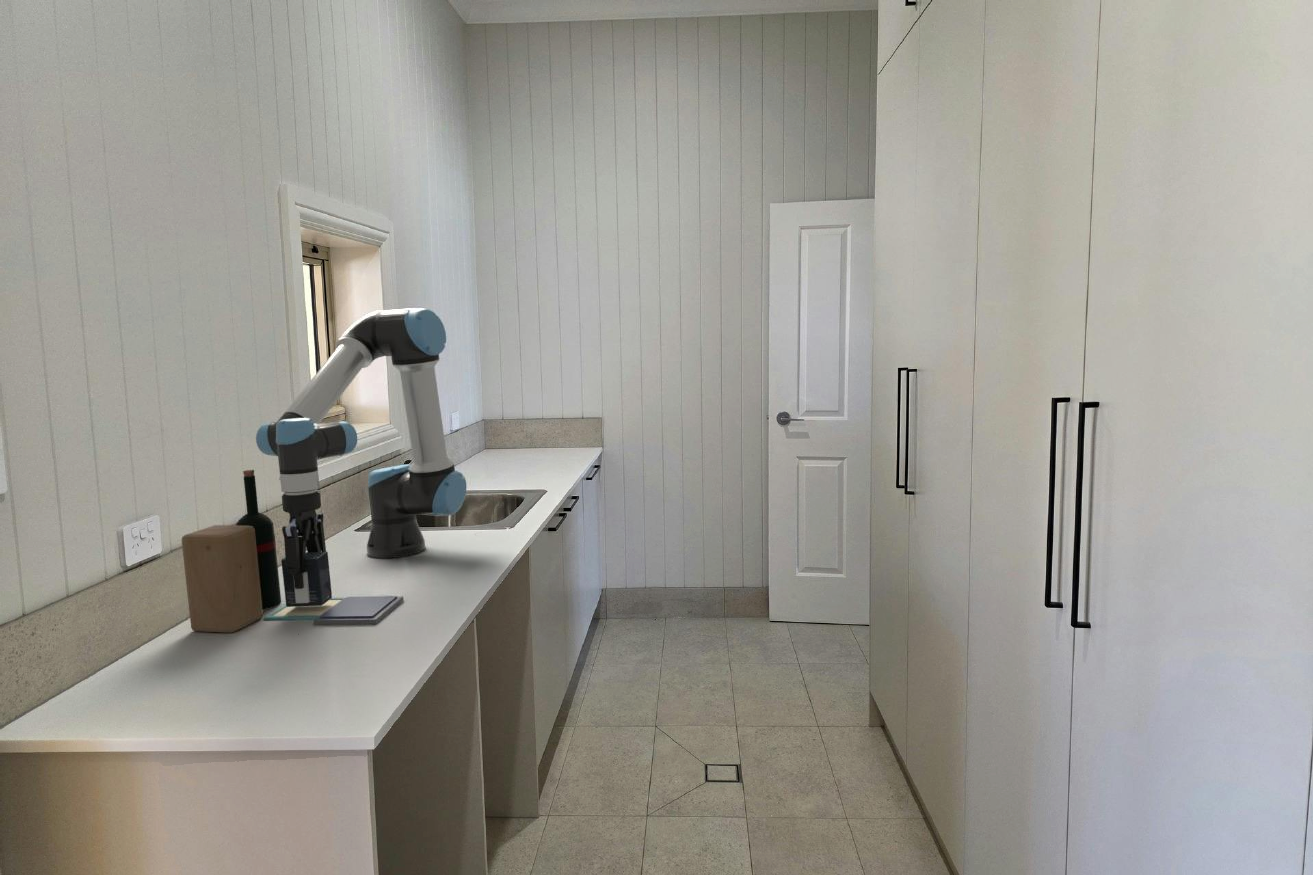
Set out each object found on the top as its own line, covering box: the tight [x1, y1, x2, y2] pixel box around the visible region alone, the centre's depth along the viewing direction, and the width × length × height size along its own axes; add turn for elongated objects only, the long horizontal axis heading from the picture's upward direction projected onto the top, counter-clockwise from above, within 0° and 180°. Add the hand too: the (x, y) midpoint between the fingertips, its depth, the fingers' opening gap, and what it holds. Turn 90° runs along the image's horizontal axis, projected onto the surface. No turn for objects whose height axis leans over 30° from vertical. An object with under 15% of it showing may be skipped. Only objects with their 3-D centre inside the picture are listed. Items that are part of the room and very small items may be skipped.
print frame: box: [263, 596, 345, 621], centre depth 183 cm, size 13×14×1 cm
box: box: [281, 551, 333, 607], centre depth 183 cm, size 8×6×11 cm
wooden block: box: [181, 524, 264, 634], centre depth 174 cm, size 10×10×20 cm
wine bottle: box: [235, 469, 282, 611], centre depth 187 cm, size 8×10×30 cm
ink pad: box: [313, 595, 404, 626], centre depth 180 cm, size 15×13×1 cm
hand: (310, 597), depth 183 cm, fingers closed on box, 6 cm apart
